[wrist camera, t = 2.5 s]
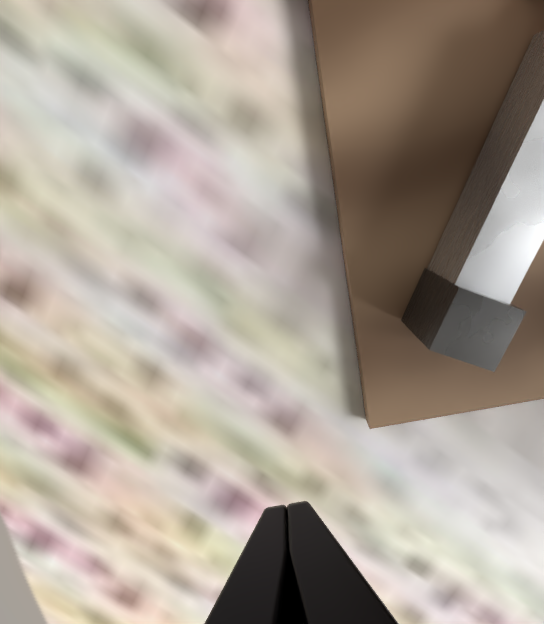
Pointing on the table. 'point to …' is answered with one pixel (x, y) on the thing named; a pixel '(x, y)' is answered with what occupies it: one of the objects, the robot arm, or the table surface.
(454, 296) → the tongs jaw
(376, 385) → the board
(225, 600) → the robot arm
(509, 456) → the table surface
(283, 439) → the table surface
